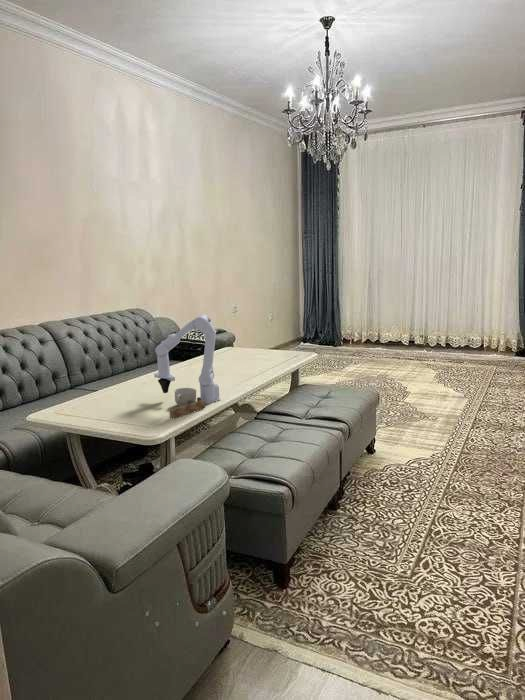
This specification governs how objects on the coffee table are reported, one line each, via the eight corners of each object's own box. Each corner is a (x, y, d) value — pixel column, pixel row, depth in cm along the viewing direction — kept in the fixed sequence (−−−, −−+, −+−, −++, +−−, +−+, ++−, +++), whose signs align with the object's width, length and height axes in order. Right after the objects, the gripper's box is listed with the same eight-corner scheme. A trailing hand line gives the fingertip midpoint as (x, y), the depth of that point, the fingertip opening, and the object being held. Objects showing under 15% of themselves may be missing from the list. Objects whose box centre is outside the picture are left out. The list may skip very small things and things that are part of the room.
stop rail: (199, 406, 267) (199, 397, 266) (205, 408, 264) (204, 398, 263) (167, 417, 252) (166, 407, 251) (172, 419, 250) (172, 408, 249)
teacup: (184, 401, 277) (183, 386, 276) (201, 403, 272) (200, 388, 270) (166, 408, 265) (165, 393, 264) (184, 411, 260) (183, 395, 258)
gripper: (148, 366, 277) (150, 392, 279) (166, 370, 267) (168, 396, 270) (159, 363, 282) (161, 389, 284) (177, 367, 272) (179, 393, 275)
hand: (165, 392), depth 277 cm, fingers closed
